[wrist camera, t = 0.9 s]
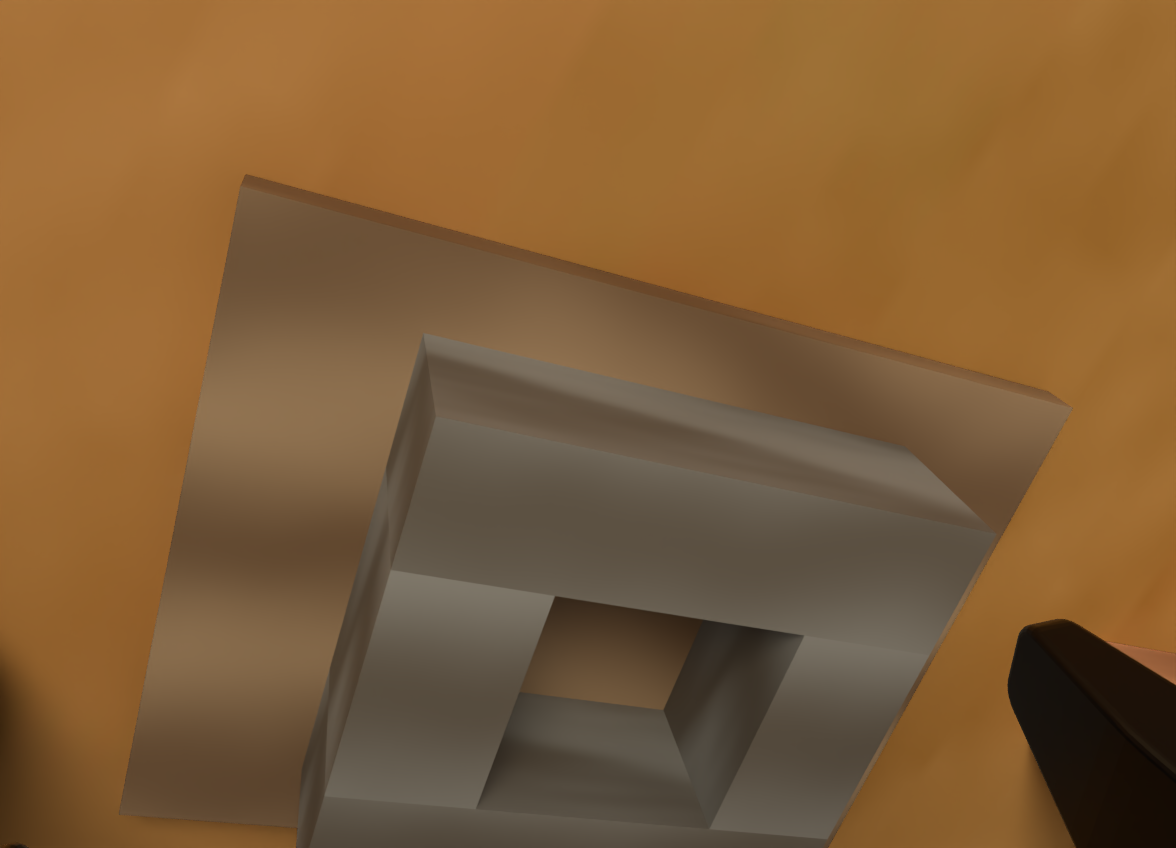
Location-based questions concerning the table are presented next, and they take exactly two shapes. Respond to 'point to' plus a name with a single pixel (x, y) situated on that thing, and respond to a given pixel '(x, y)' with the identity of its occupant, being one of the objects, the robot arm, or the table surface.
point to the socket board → (334, 434)
